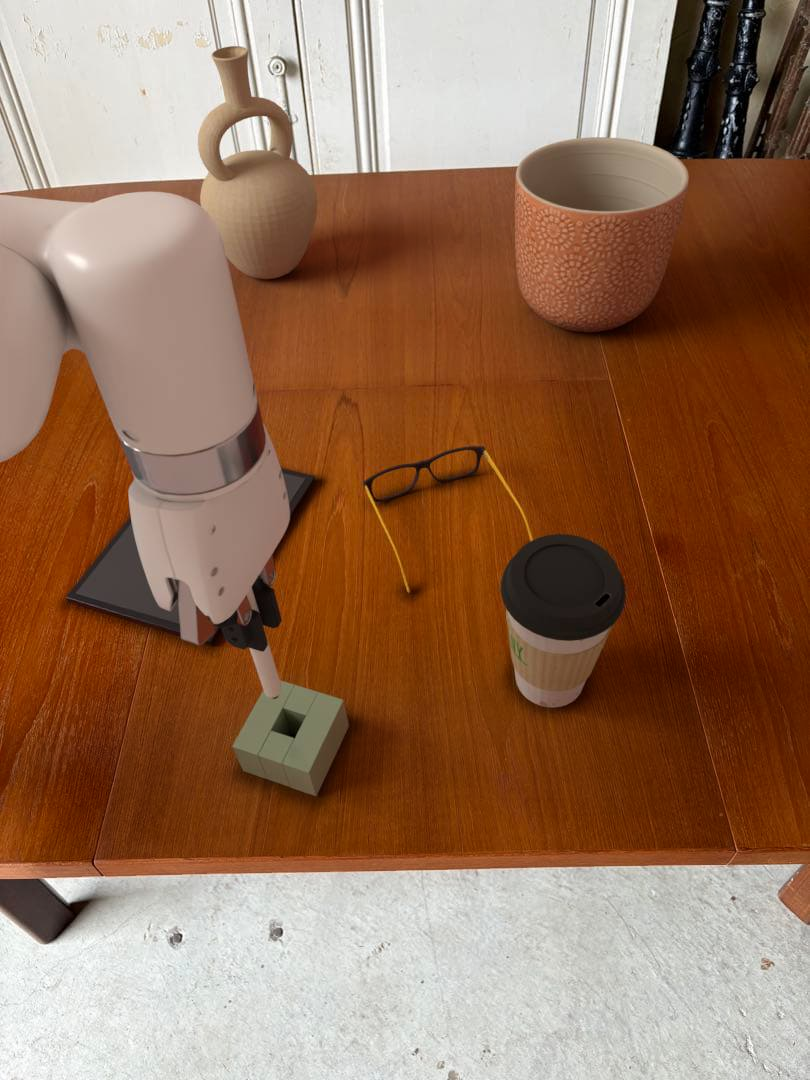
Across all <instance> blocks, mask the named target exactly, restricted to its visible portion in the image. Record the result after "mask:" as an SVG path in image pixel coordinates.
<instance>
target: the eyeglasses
mask: <svg viewBox="0 0 810 1080" xmlns="http://www.w3.org/2000/svg"><path fill="white" fill-rule="evenodd" d="M462 451H472V452H474V453H475V455H476V461H475V466H474V468H473V469H472V470H470V471H467V472H465V473H462V474H459V475H456V476H453V477H451V476H450V477H447V478H438V477H437V476H436V475H434V473H433V470H432V469H431V464H432V463H433V462H434V461H436V460H438V459H440V458H442V457H445V456H448V455H450V454H454V453H459V452H462ZM483 456H484V457H485V459H486V460H487V461H488V464H489V465H490V466H491V468H492V469H493V470H494V472H495V474H496V476H497V477H498V478H499V480H500V481H501V483H502V484H503V486H504V488H505V489H506V491H507V492H508V495H509V496H511V499H512V500H513V502H514V503H515V505H516V506H517V508H518V510H519V512H520V514H521V515H522V518H523V521H524V524H525V526H526V530H527V533H528V537H529V542H530V541H532V540H534V537H533V534H532V531H531V527H530V524H529V521H528V519H527V516H526V514H525V512H524V510H523V507H522V506H521V504H520V503H519V501H518V499H517V498H516V496H515V495H514V493H513V491H512V490H511V488H510V487H509V485H508V483H507V481H506V480H505V478H504V477H503V475H502V473H501V472H500V470H499V468H498V466H497V465H496V464H495V462H494V460H493V459H492V457H491V456H490V454H489V453H488V451H487V449H486V447H485V446H483V445H472V446H462V447H461V446H460V447H457V448H451V449H448V450H445V451H443V452H440V453H438V454H436V455H434V456H432V457H430V458H428V459H424V460H420V461H417V462H412V463H402V464H398V465H394V466H391V467H387V468H385V469H383V470H381V471H380V470H379V472H377V473H374V474H372V475H371V476H370V477H367V479H365V480H363V482H362V485H363V489H364V490H365V492H366V495H367V497H368V499H369V501H370V503H371V505H372V506H373V509H374V511H375V513H376V515H377V517H378V519H379V522H380V524H381V526H382V527H383V530H384V532H385V534H386V536H387V538H388V540H389V542H390V545H391V546H392V549H393V552H394V554H395V556H396V559H397V562H398V565H399V568H400V571H401V575H402V577H403V578H402V579H403V582H404V585H405V588H406V592H407V593H411V590H410V587H409V583H408V580H407V577H406V572H405V569H404V567H403V564H402V560H401V558H400V555H399V552H398V549H397V548H396V547H397V546H396V545H395V543H394V541H393V539H392V536H391V535H390V532H389V530H388V528H387V526H386V524H385V522H384V520H383V517H382V515H381V513H380V511H379V509H378V507H377V504H376V503H382V502H385V501H389V500H392V499H395V498H399V497H401V496H404V495H407V494H408V493H410V492H412V490H413V489H414V487H415V486H416V485H417V483H418V482H419V478H420V471H421V470H422V469H427V470H428V472H429V474H430V475H431V477H432V478H433V479H434V480H435V481H436V482H438V483H446V482H452V481H455V480H458V479H462V478H466V477H468V476H472V475H473V474H475V473H476V472H477V471H478V470H479V468H480V463H481V459H482V457H483ZM405 468H414V469H415V473H414V474H415V475H414V477H413V480H412V483H411V485H410V486H409V487H408V488H407V489H405V490H403V491H400V492H398V493H396V494H393V495H388V496H386V497H381V498H377V497H375V495H374V492H373V482H374V480H376V479H377V478H378V477H380V476H382V475H384V474H386V473H389V472H391V471H396V470H400V469H405Z"/></svg>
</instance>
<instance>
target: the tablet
mask: <svg viewBox="0 0 810 1080" xmlns="http://www.w3.org/2000/svg"><path fill="white" fill-rule="evenodd" d="M281 470H282V474H283V477H284V481H285V486H286V490H287V495H288V501H289V509H290V520H289V524H288V526H289V525H290V524H291V523H292V520H293V519H294V517H295V515H296V514H297V513H298V511H299V509H300V508H301V506H302V505H303V503H304V501H305V500H306V498H307V496H308V495H309V493H310V491H311V490H312V489H313V487H314V485H315V483H316V482H317V480H316V476H315V475H312V474H308V473H305V472H299V471H295V470H291V469H286V468H282V467H281ZM65 599H66V601H67V603H69V604H72V605H76V606H80V607H82V608H85V609H88V610H92V611H95V612H98V613H102V614H105V615H108V616H112V617H114V618H119V619H122V620H124V621H128V622H132V623H135V624H138V625H141V626H144V627H147V628H150V629H154V630H157V631H160V632H163V633H167V634H170V635H173V636H177V637H180V638H181V634H180V619H179V604H178V602H177V603H176V605H175V606H174V608H173V609H172V611H168V610H165V609H163V608H161V607H159V605H158V604H157V602H156V600H155V598H154V596H153V593H152V591H151V588H150V586H149V583H148V580H147V577H146V574H145V571H144V569H143V565H142V562H141V559H140V556H139V552H138V549H137V545H136V541H135V537H134V532H133V527H132V522H131V515H130V516H129V518H128V519H127V520H126V521H125V522H124V524H123V525H122V526H121V528H120V529H119V530H118V531H117V532H116V533H115V535H114V536H113V537H112V539H110V541H109V543H108V544H107V545H106V546H105V548H104V549H103V550H102V551H101V552H100V553H99V555H98V556H97V557H96V558H95V560H94V561H93V562H92V564H91V565H90V566H89V567H88V569H87V570H86V571H85V572H84V573H83V575H82V576H81V578H79V580H78V581H77V582H76V584H75V585H74V586H73V587H72V588H71V590H70V591H69V593H67V595H66V596H65ZM221 633H222V630H221V628H220V627H217V628H216V629H215V633H214V634H213V635H212V636H211V637H210V638H209V639H208V640H207V641H206V642H205V643H204V644H203V645H207V646H208V647H209V646H210V647H213V646H214V644H215V643H216V641H217V640H218V638H219V636H220V635H221Z"/></svg>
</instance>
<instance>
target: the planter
mask: <svg viewBox="0 0 810 1080" xmlns="http://www.w3.org/2000/svg"><path fill="white" fill-rule="evenodd" d="M689 182H690V173H689V171H688V169H687V167H686V165H685V164H684V163H683V161H681V160H680V159H679V158H678V157H676V156H675V155H674V154H672V153H670V152H669V151H667V150H665V149H663V148H661V147H659V146H656V145H652V144H649V143H646V142H643V141H638V140H634V139H633V140H632V139H629V138H628V139H627V138H621V137H604V136H603V137H602V136H598V137H597V136H594V137H578V138H571V139H566V140H561V141H557V142H553V143H549V144H547V145H544V146H542V147H539V148H537V149H535V150H534V151H532V152H530V153H529V154H527V155H526V156H525V157H523V159H522V160H521V161H520V162H519V164H518V165H517V168H516V171H515V182H514V183H515V184H514V254H515V255H514V256H515V267H516V274H517V282H518V286H519V287H518V288H519V290H520V293H521V295H522V297H523V299H524V301H525V302H526V304H527V305H528V307H529V308H530V309H531V310H532V311H533V312H534V313H535V314H536V315H537V316H538V317H539V318H541V319H542V320H543V321H545V322H547V323H548V324H551V325H553V326H555V327H557V328H558V329H559V328H560V329H563V330H566V331H570V332H578V333H598V332H605V331H610V330H613V329H616V328H619V327H620V326H621V327H622V326H623V325H626V324H627V323H629V322H631V321H632V320H634V319H635V318H637V317H638V316H640V315H641V314H642V313H643V312H644V311H645V310H646V309H647V308H648V307H649V306H650V304H651V303H652V302H653V300H654V298H655V297H656V295H657V293H658V291H659V289H660V286H661V283H662V281H663V278H664V276H665V273H666V270H667V267H668V264H669V261H670V258H671V254H672V251H673V248H674V244H675V240H676V236H677V233H678V230H679V227H680V222H681V218H682V214H683V210H684V206H685V201H686V198H687V197H686V196H687V192H688V189H689V188H688V187H689Z"/></svg>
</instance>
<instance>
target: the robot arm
mask: <svg viewBox="0 0 810 1080" xmlns="http://www.w3.org/2000/svg"><path fill="white" fill-rule="evenodd" d="M240 316H241V315H240V312H239V308H238V304H237V298H236V294H235V288H234V284H233V280H232V275H231V271H230V267H229V262H228V258H227V256H226V252H225V248H224V245H223V241H222V238H221V234H220V232H219V229H218V227H217V225H216V223H215V222H214V220H213V219H212V218H211V216H210V215H209V214H208V213H207V211H205V210H204V209H203V208H202V207H201V205H200V204H198V203H197V202H195V201H194V200H191V199H189V198H186V197H184V196H182V195H179V194H175V193H171V192H163V191H135V192H126V193H122V194H121V193H120V194H116V195H112V196H109V197H106V198H102V199H99V200H96V201H93V202H85V201H70V200H69V201H67V200H57V199H47V198H37V197H29V196H19V195H12V194H11V195H9V194H0V463H3V462H6V461H8V460H10V459H12V458H14V456H16V455H18V454H19V453H20V452H22V451H23V450H25V449H26V448H27V447H28V446H29V445H30V444H31V442H33V440H34V439H35V437H36V436H37V435H38V434H39V432H40V431H41V429H42V428H43V425H44V424H45V420H46V418H47V415H48V412H49V410H50V407H51V403H52V399H53V395H54V393H55V388H56V384H57V381H58V376H59V372H60V369H61V364H62V361H63V356H64V355H65V354H66V353H68V352H69V351H70V350H71V351H72V350H78V351H80V352H82V353H83V354H84V355H85V358H86V360H87V362H88V365H89V367H90V370H91V373H92V375H93V378H94V379H95V382H96V385H97V387H98V390H99V392H100V396H101V398H102V400H103V403H104V406H105V408H106V411H107V413H108V417H109V418H110V421H111V423H112V426H113V428H114V430H115V433H116V435H117V438H118V440H119V443H120V445H121V449H122V451H123V453H124V456H125V458H126V461H127V463H128V466H129V468H130V471H131V473H132V476H133V480H132V482H131V484H130V485H129V487H128V489H127V493H128V507H129V514H130V516H131V522H132V527H133V532H134V537H135V541H136V545H137V549H138V552H139V556H140V559H141V562H142V565H143V569H144V571H145V574H146V577H147V580H148V583H149V586H150V588H151V591H152V593H153V596H154V598H155V600H156V602H157V604H158V605H159V607H161V608H163V609H165V610H168V611H172V609H173V608H174V606H175V605H176V603H177V602H178V604H179V619H180V634H181V637H180V640H181V641H182V642H184V643H185V642H186V643H189V644H192V645H195V646H198V647H202V646H203V645H205V644H204V643H205V642H206V641H207V640H208V639H209V638H210V637H211V636H212V635H213V634H214V633H215V629H216V628H217V627H220V628H221V630H222V632H221V633H222V635H223V637H224V639H225V640H226V642H227V643H228V644H229V645H230V646H232V647H234V648H237V649H240V650H247V649H250V648H252V649H255V650H258V651H262V652H263V651H265V649H266V647H267V646H268V643H269V640H268V637H267V638H266V636H267V634H265V633H266V630H265V627H267V628H271V629H276V628H279V627H280V625H281V623H282V622H283V620H282V619H283V618H282V615H281V611H280V608H279V607H280V606H279V604H278V600H277V596H276V593H275V588H273V587H272V586H273V585H274V583H275V580H276V577H277V571H276V567H275V566H276V565H275V561H274V556H273V555H274V552H275V550H276V549H277V547H278V545H279V544H280V542H281V540H282V539H283V537H284V536H285V533H286V531H287V529H288V527H289V525H290V523H289V520H290V509H289V501H288V495H287V490H286V486H285V481H284V477H283V474H282V470H281V468H282V467H281V464H280V461H279V458H278V454H277V451H276V449H275V446H274V443H273V440H272V439H271V436H270V434H269V432H268V429H267V427H266V426H265V425H266V424H264V422H263V418H262V417H263V416H262V412H261V408H260V403H259V400H258V399H259V398H258V395H257V390H256V385H255V381H254V377H253V372H252V368H251V363H250V360H249V354H248V350H247V345H246V340H245V335H244V330H243V326H242V321H241V317H240ZM288 524H289V525H288ZM251 587H252V590H253V593H254V597H255V600H256V603H257V607H258V610H259V612H258V611H256V610H253V609H251V606H250V603H249V600H248V598H247V593H248V591H249V590H250V588H251ZM259 613H260V614H259ZM262 623H263V624H262ZM263 626H264V627H263ZM264 630H265V631H264ZM267 640H268V641H267ZM267 642H268V643H267Z"/></svg>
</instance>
